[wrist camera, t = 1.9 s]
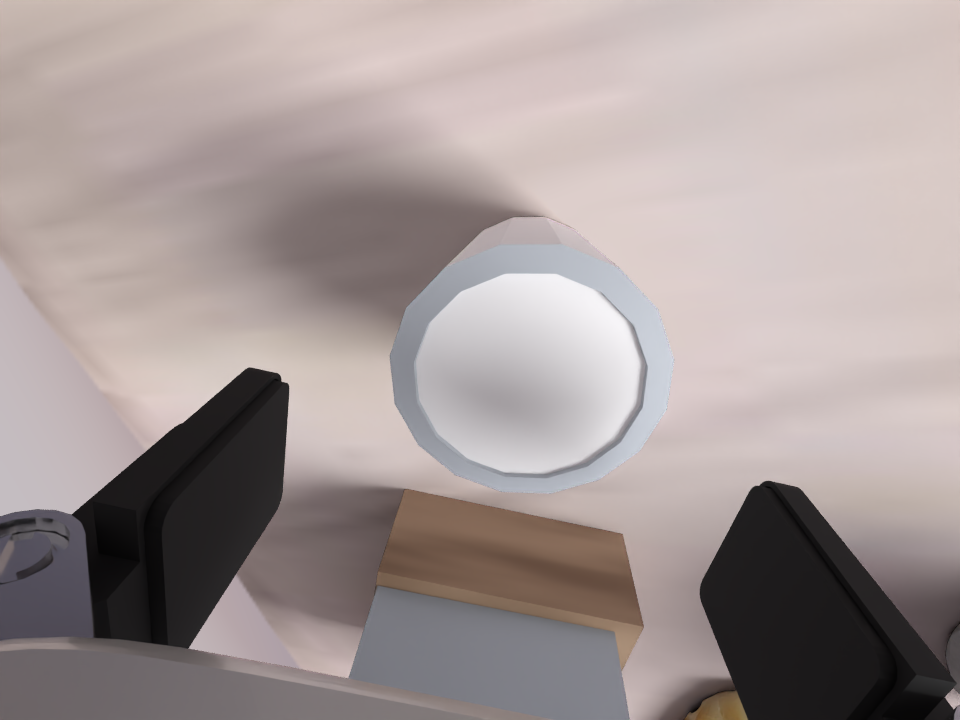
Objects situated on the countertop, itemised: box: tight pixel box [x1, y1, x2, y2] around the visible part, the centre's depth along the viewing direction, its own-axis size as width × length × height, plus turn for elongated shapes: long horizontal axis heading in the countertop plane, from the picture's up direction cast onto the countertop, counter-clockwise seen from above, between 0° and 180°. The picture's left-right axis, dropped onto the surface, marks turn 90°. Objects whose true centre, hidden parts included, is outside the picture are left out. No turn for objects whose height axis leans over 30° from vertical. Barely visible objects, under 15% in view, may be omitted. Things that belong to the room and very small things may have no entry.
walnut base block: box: [374, 489, 644, 671], centre depth 23 cm, size 10×10×5 cm
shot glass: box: [390, 217, 674, 494], centre depth 16 cm, size 7×7×7 cm
